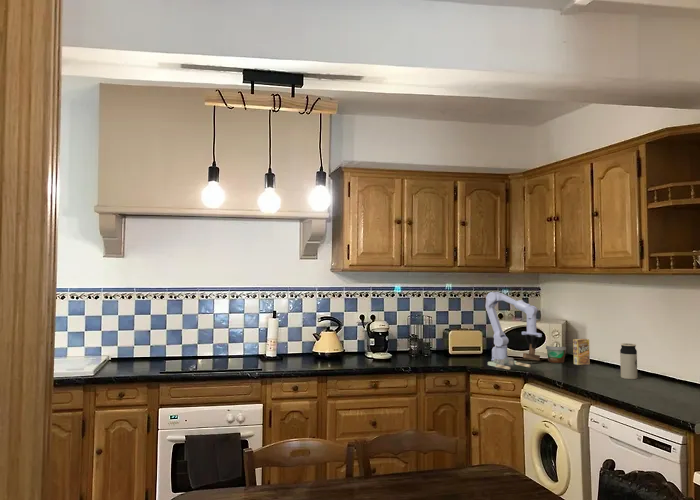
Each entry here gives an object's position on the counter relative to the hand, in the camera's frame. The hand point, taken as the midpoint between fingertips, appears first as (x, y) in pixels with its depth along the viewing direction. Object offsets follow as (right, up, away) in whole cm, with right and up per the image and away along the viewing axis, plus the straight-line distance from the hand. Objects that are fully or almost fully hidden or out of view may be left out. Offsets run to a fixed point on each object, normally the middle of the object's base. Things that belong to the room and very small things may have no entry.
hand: (531, 347), depth 344 cm
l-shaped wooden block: (-1, -7, -1) cm, 7 cm away
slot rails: (-14, -10, -10) cm, 20 cm away
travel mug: (+37, -9, -45) cm, 59 cm away
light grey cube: (-21, -10, -4) cm, 24 cm away
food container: (+17, -11, +6) cm, 21 cm away
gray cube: (-14, -10, 0) cm, 18 cm away
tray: (-19, -10, -2) cm, 21 cm away
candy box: (+30, -10, -1) cm, 32 cm away
